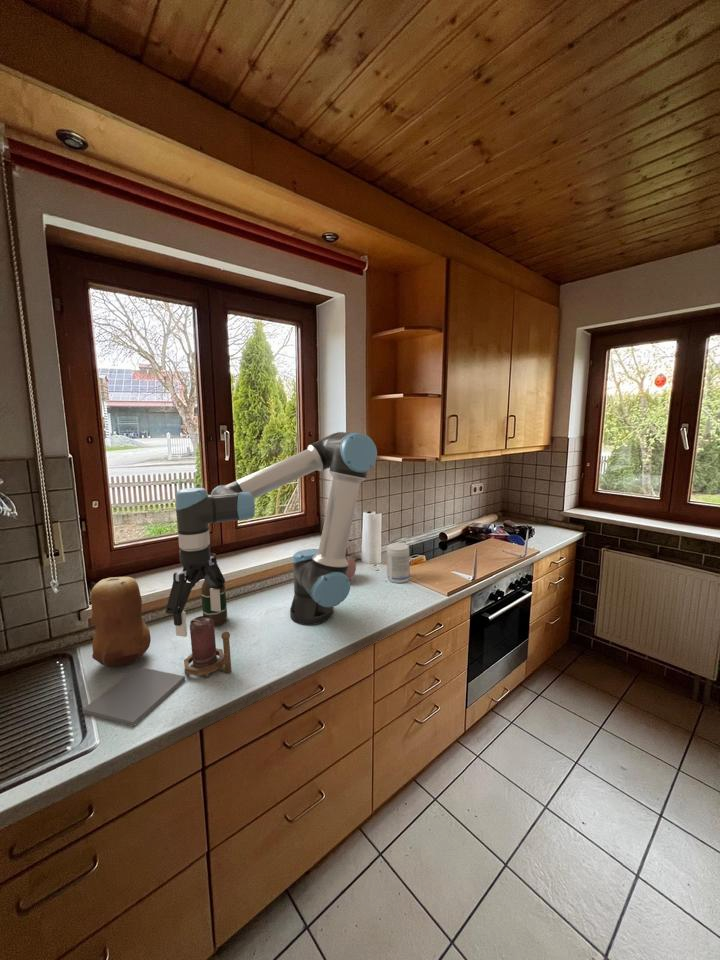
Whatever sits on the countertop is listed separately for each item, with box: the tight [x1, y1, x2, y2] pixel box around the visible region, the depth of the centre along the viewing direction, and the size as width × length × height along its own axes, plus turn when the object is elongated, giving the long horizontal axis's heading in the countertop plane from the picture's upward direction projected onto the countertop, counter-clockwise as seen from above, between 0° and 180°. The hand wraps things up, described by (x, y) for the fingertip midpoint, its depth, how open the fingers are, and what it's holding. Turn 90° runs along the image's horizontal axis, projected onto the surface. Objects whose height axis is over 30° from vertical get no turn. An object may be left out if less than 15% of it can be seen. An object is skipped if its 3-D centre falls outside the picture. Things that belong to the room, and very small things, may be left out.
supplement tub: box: [386, 542, 411, 584], centre depth 161 cm, size 10×10×15 cm
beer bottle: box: [200, 552, 228, 628], centre depth 128 cm, size 8×8×24 cm
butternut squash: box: [90, 576, 152, 668], centre depth 106 cm, size 14×13×25 cm
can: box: [189, 615, 218, 669], centre depth 104 cm, size 6×6×14 cm
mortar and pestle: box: [346, 557, 357, 580], centre depth 161 cm, size 12×12×12 cm
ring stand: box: [183, 631, 232, 679], centre depth 104 cm, size 14×10×12 cm
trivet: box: [81, 666, 186, 727], centre depth 94 cm, size 15×16×1 cm
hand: (199, 622), depth 103 cm, fingers open, 13 cm apart
